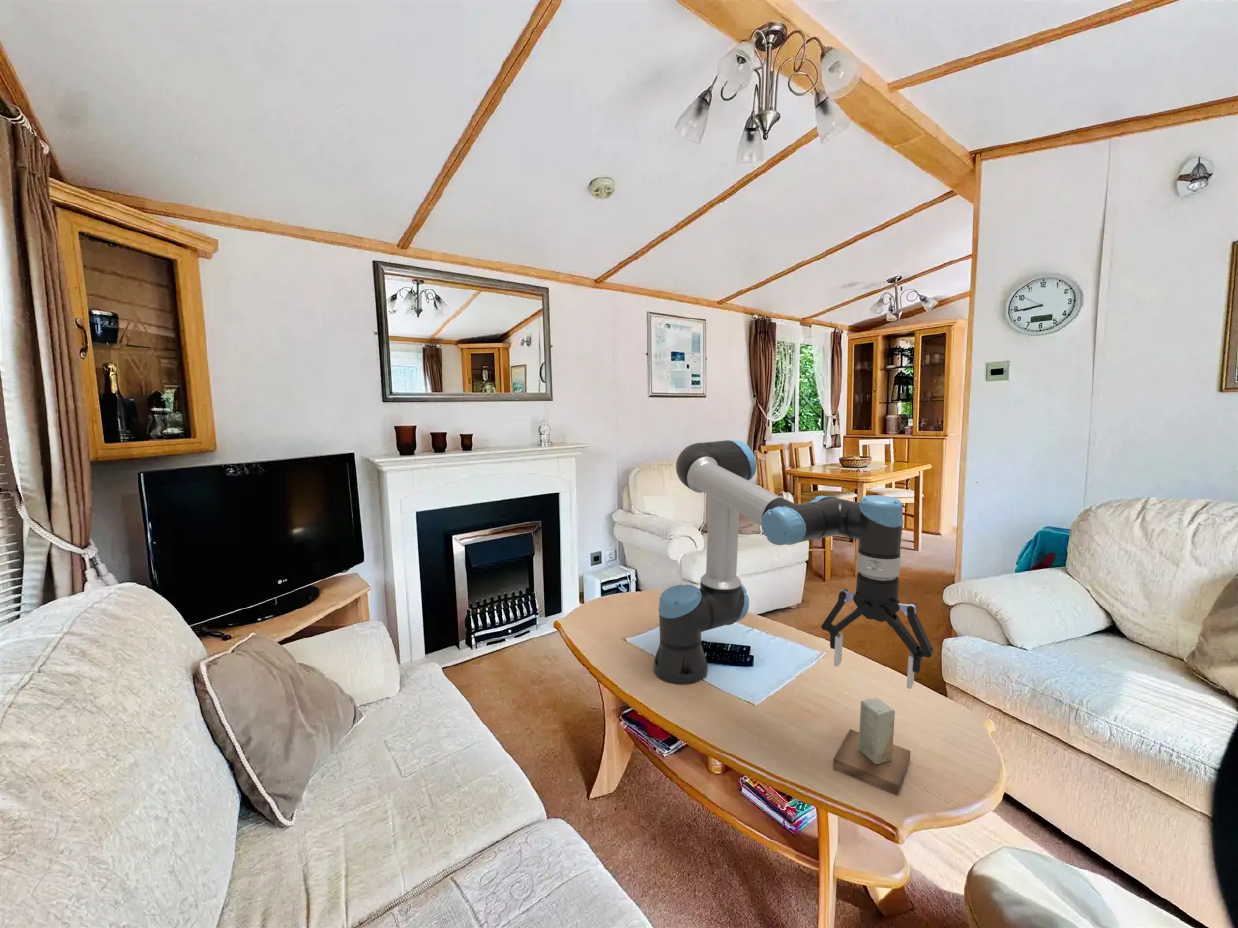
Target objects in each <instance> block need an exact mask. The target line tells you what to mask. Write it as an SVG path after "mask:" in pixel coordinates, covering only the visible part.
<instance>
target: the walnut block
mask: <svg viewBox="0 0 1238 928" xmlns="http://www.w3.org/2000/svg"><path fill="white" fill-rule="evenodd" d="M858 748H859V731H858V730H854V729H851V728H849V730H848V732H847V733H846V735H845V737H844V739H843V741H842V742H841V745H840V746H839V748H838V750H837V752H836V754H835V755H834V757H833V766H832V768H833V770H834V771H837V772H838V773H840V774H841V773H842V774H844V775H846V776H848V777H851V778H853V779H856V780H858V781H861V782H863V783H865V784H868V785H870V786H872V787H873V786H874V787H875V788H878V789H880V790H883V791H886V792H888V793H890V794H893V795H895V796H897V797H898V796H899V794H900V792H901V789H902V787H903V783H904V779H905V777H906V775H907V771H908V768H909V766H910V765H909V764H910V763H911V750H910V749H906V748H905V747H904V748H903V747H901V746H898V745H896V744H893V752H892V760H891V761H888V762H884V763H880V764H875V763H874V762H872V761H871V760H870V759H869V758H868V757H867V756H865V755H864V754H863V753H862V752H861V751H860V750H859V749H858Z"/></svg>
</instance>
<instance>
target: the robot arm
mask: <svg viewBox="0 0 1238 928" xmlns="http://www.w3.org/2000/svg"><path fill="white" fill-rule="evenodd" d="M675 470H676V475H677V478H678V479H679V481H680V482H681V483H682V484H683V485H684V486H685V487H687V488H688V489H689V490H692V491H693V492H695V493H698V494H701V493H704V494H705V495H708V508H707V509H708V510H707V511H708V513H707V516H708V517H707V536H706V537H707V539H706V541H707V542H706V567H705V568H706V569H705V573H704V574H703V575H702V576H701V577H700V583H699V584H700V585H699V587H698V586H695V585H693V584H684V585H683V584H678V585H673V586H671V587H669V588H666V589H664V590H663V592H661V594H660V597H659V603H658V613H659V615H658V619H659V645H658V648H657V650H656V654H655V658H654V661H653V671H654V674H655V675H656V676H657V677H658V678H660V679H661V680H663V681H665V682H669V683H672V684H676V685H677V684H681V685H682V684H683V685H686V684H687V685H688V684H693V683H697V682H700V681H701V680H703V679H704V678H706V677H707V675H708V672H709V670H708V666H709V665H708V660H707V658H706V654H705V652H704V649H703V646H702V632H705V631H709V630H713V629H717V628H721V627H724V626H731V625H733V624H735V623H737V622H740V621H741V620H743V619H744V618H745V617H746V615H747V614H748V612H749V607H750V598H749V594H747V589H746V588H745V585H744V584H742V581H741V578H739V577H738V576H737V570H738V569H737V566H738V547H739V546H738V543H739V525H740V524H739V523H740V522H739V521H740V514H741V516H743V517H745V518H746V519H749V520H751V521H752V522H754V523H756V525H759V526H761V530H762V533H763V535H764V536H765V537H766V538H767V541H768V542H769V543H771V544H773V545H775V546H784V545H786V546H787V545H788V546H789V545H790V546H791V545H795V544H798V543H802V542H807V541H812V540H818V539H823V538H828V537H832V536H833V537H834V536H842V537H846V538H849V539H852V540H856V541H857V542H858V545H857V548H858V549H857V563H856V564H857V566H856V567H857V569H856V570H857V571H858V572H857V573H856V587H855V588H856V589H855V593H853V592H850V591H849V590H848V589H847V588H843V589H842V590H841V591H840V592H839V593H838V597H837V602H836V603H835V605H834V606H833V608H832V609H831V611H830V612H829V614H828V615H827V617H826V618H825V620H824V621H823V623H822V624H821V629H822V630H823V631H826V632H828V633H829V635H830V638H829V640H830V641H829V647H830V649H832V650H834V655H833V656H834V657H833V658H834V659H833V666H834V667H837V668H838V667H839V666H840V664H841V663H842V659H843V657H842V656H843V639H844V638H843V636H844V635H843V632H841V631H842V630H843V629H845V628H846V627H847V626H849V625H850V624H851V623H852V622H854V621H856V619H858V618H860V617H861V616H863V617H864V618H865V619H866V620H867V619H868V620H874V621H876V622H880V623H883V622H886V623H887V624H888V626H889V627H890V628H892V630H893V631H894V632H895V633H896V635H897V636H898V637H899V638H900V640H901V641H902V642H903V644H904V645H905V646H906V648H907V649H908V650H909V652H910V653H909V655H908V659H907V674H906V675H907V676H906V689H909V690H911V689H912V688H913V686H914V684H915V683H914V682H915V673H916V674H919V673H920V671H921V669H922V658H928V659H929V658H931V657H932V655H933V653H934V648H933V646H932V644H931V642H930V639H929V637H928V635H927V633H926V631H925V629H924V627H923V625H922V623H921V620H920V618H919V616H918V611H917V604H915V602H910V603H908V604H907V603H900V600H899V591H900V590H899V587H900V579H899V577H898V576H900V572H901V557H902V556H901V544H902V533H903V527H904V526H903V525H904V519H903V517H904V516H903V510H904V509H903V502H902V501H901V500H900V499H899V498H897V497H893V496H889V495H880V494H879V495H872V494H871V495H864V496H862V497H861V499H860V502H857V501H853V500H847V499H843V498H839V497H836V496H834V495H833V496H832V495H830V496H827V495H817V496H816V497H814V499H813V500H811V501H810V502H805V503H799V504H798V503H795V502H792V501H790V500H788V499H787V498H783V497H782V496H780V495H778V494H777V493H773V492H772V491H770V490H768V489H766V488H764V487H762V486H759V485H758V484H756V483H754V482H751V481H750V480H752V479H753V478H754V477H753V476H755V475H756V472H757V459H756V456H755V454H754V451H753V450H752V449H751V447H750V446H749V445H748V444H747V443H745V442H743V441H742V440H732V439H731V440H730V439H729V440H728V439H726V440H715V441H708V442H707V441H706V442H705V441H704V442H695V443H691V444H690V445H688V446H686V447H685V448H684V449H682V451H681V452H680V453H679V455H678V457H677V460H676V463H675ZM851 600H853V602H854V604H855V606H856V608H855V609H854V610H853V611H852V612H850V613H849V614H848V615H846V616H845V617H844V618H843V619H841V620H840V621H838V622H837V623H836V624H835V625H834V624H833V622H834V621H835V619H836V618H837V616H838V615H839V613H840V612H841V610H842V609H843V607H844V605H845V604H846V603H849V602H851ZM899 611H902V613H903V615H904V616H906V617H907V620H908V623H909V625H910V627H911V629H912V632H913V634H914V636H915V638H916V640H915V638H914V636H913V635H912V634H911V633H910V631H909V630H908V629H907V627H906V626H905V625H904V623H903V622H902V621H901V618H900V617H899V616H898V614H897V613H898V612H899Z"/></svg>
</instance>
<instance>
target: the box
mask: <svg viewBox="0 0 1238 928" xmlns="http://www.w3.org/2000/svg"><path fill="white" fill-rule="evenodd" d="M895 715H896V710H895V709H894V708H893V707H891V706H890V705H888V704H887V703H886V702H884V701H882V700H881V699H880V698H878V697H873V698H868V699H864V700H860V713H859V731H858V732H859V748H858V749H859V750H860V751H861V752H862V753H863V754H864V755H865V756H867V757H868V758H869V759H870V760H871V761H872V762H874V763H875V764H880V763H884V762H888V761H891V760H892V752H893V745H894V736H895V735H894V733H895V730H894V729H895V717H896V716H895Z"/></svg>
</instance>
